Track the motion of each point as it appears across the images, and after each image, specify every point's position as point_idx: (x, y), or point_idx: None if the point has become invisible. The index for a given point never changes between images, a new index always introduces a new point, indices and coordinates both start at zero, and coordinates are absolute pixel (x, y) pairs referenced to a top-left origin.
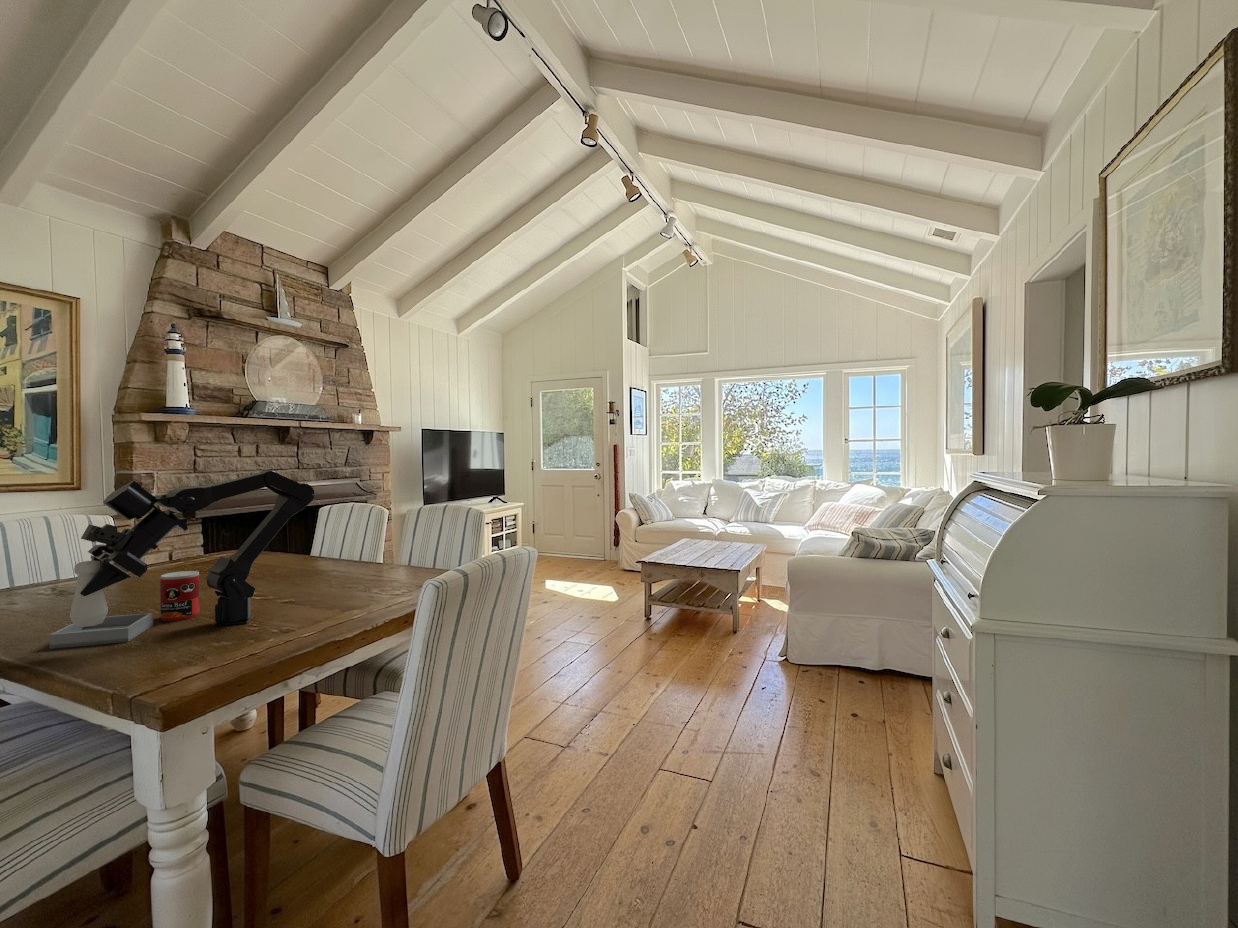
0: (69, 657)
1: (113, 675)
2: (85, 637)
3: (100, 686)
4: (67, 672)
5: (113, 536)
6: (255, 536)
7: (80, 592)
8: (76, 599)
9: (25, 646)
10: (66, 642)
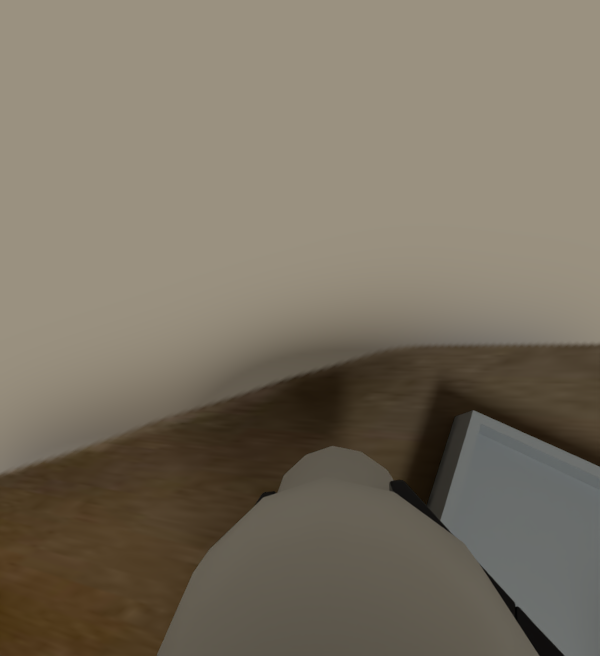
0: (316, 448)
1: (60, 507)
2: (437, 503)
3: (16, 471)
4: (180, 431)
5: None
6: None
7: (269, 494)
8: (304, 472)
9: (535, 371)
10: (448, 452)
